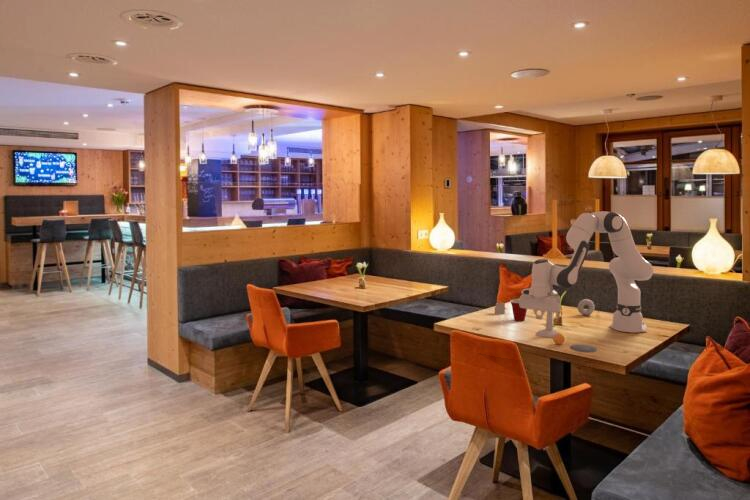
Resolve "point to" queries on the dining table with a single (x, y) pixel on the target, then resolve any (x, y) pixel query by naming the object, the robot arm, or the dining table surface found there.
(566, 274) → the robot arm
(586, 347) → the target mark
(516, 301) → the plastic cup
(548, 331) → the candlestick
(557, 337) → the ball
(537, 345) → the dining table surface
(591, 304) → the donut
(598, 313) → the dining table surface
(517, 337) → the dining table surface
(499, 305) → the architectural model
